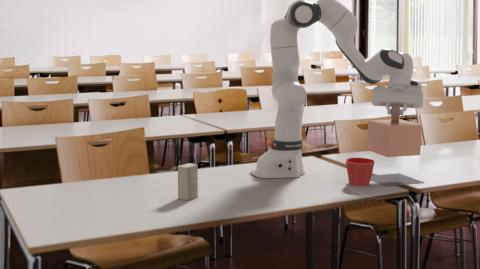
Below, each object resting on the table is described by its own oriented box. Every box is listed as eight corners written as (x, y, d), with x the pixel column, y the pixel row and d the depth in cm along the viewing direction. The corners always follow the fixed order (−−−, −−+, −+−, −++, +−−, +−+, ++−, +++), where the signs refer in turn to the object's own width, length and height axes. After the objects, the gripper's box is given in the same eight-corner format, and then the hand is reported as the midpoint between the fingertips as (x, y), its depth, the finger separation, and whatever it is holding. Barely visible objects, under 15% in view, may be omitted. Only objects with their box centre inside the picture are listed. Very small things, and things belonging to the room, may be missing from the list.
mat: (385, 187, 261) (386, 186, 261) (361, 177, 278) (361, 176, 278) (425, 183, 268) (425, 182, 268) (398, 174, 284) (399, 173, 284)
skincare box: (189, 195, 248) (189, 162, 246) (198, 197, 246) (198, 164, 244) (177, 198, 244) (177, 165, 242) (186, 200, 241) (186, 167, 239)
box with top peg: (387, 157, 261) (390, 107, 258) (366, 149, 275) (369, 103, 272) (420, 155, 267) (423, 106, 263) (398, 148, 280) (401, 102, 277)
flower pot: (373, 188, 260) (374, 163, 258) (344, 186, 262) (345, 162, 261) (373, 182, 270) (374, 158, 269) (345, 180, 272) (346, 156, 271)
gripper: (373, 80, 276) (368, 107, 269) (424, 83, 270) (421, 110, 262) (374, 90, 281) (369, 117, 273) (425, 93, 274) (421, 120, 267)
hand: (395, 114), depth 268 cm, fingers closed on box with top peg, 3 cm apart
